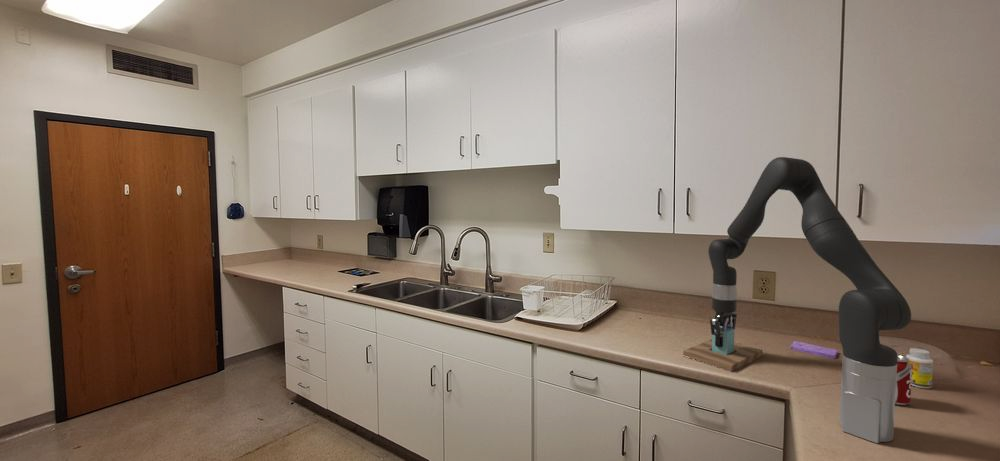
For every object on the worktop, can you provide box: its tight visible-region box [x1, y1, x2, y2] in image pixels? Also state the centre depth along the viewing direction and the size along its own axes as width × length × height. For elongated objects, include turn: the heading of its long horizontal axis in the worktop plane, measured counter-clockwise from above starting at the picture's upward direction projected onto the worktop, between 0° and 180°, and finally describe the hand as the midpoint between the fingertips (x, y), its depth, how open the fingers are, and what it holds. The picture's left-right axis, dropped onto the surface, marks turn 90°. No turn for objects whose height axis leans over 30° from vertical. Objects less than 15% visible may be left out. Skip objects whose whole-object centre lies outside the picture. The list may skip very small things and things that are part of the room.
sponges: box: [790, 340, 839, 359], centre depth 142 cm, size 7×13×2 cm, turn 42°
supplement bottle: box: [905, 347, 934, 389], centre depth 115 cm, size 6×6×10 cm
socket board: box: [682, 338, 763, 373], centre depth 138 cm, size 22×16×2 cm
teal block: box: [711, 326, 736, 355], centre depth 138 cm, size 5×5×8 cm
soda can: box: [895, 354, 912, 406], centre depth 106 cm, size 7×7×12 cm
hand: (723, 344), depth 138 cm, fingers closed on teal block, 5 cm apart
